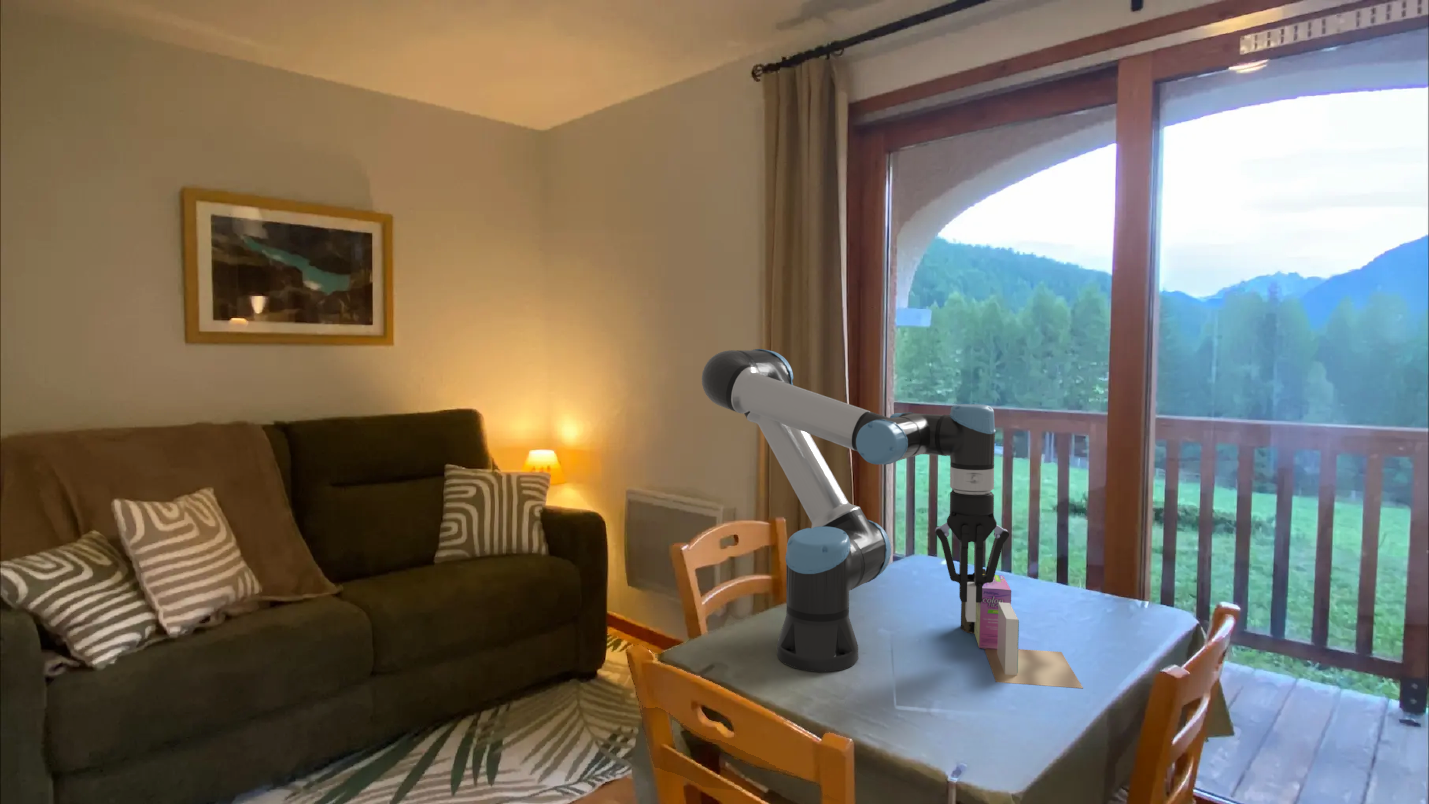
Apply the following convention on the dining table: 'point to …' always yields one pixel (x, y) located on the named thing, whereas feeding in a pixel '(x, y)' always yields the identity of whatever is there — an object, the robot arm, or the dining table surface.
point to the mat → (1036, 669)
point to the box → (990, 612)
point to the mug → (964, 624)
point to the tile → (1008, 638)
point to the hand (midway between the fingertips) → (970, 619)
